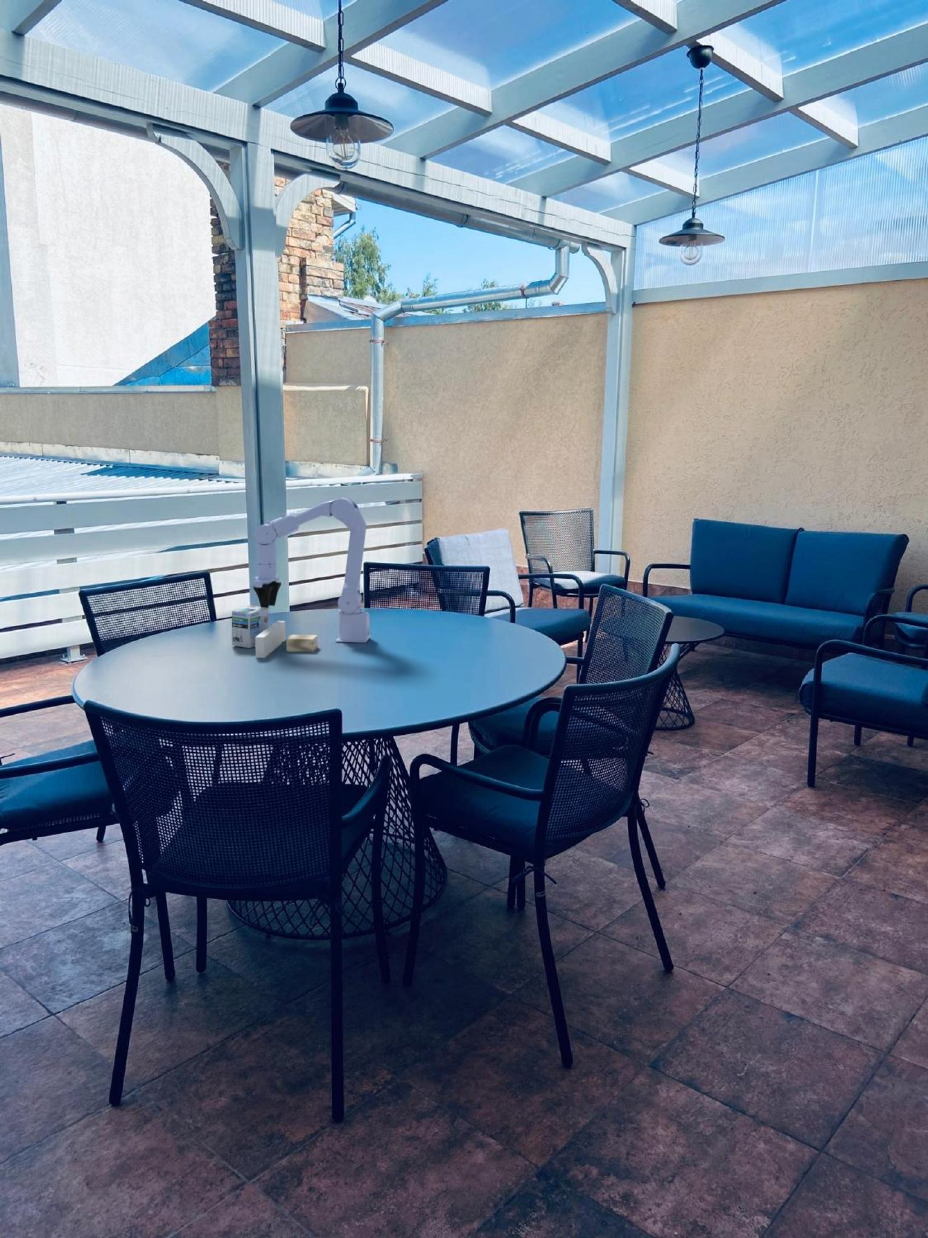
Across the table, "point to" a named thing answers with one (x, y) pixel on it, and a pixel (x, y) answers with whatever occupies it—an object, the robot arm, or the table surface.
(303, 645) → the maple block
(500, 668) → the table surface
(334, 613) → the table surface
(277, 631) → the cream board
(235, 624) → the light bulb box
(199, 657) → the table surface
